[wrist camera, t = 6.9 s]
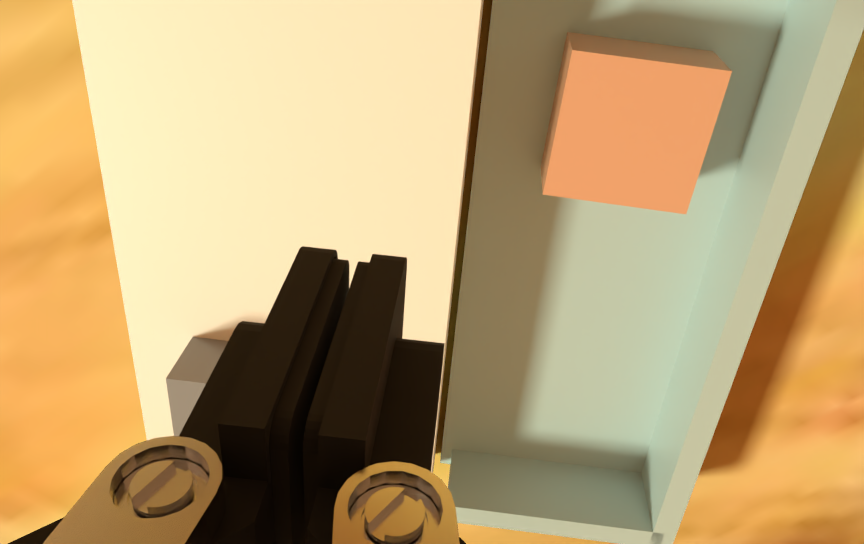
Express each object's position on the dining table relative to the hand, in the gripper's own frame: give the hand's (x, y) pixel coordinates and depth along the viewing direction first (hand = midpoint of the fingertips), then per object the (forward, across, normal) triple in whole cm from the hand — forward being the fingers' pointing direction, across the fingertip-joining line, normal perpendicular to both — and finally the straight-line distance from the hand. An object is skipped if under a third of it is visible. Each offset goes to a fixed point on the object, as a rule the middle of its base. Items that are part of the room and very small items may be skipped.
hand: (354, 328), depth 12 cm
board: (+17, +4, +7) cm, 19 cm away
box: (+17, -7, +7) cm, 19 cm away
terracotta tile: (+14, -7, +2) cm, 16 cm away
